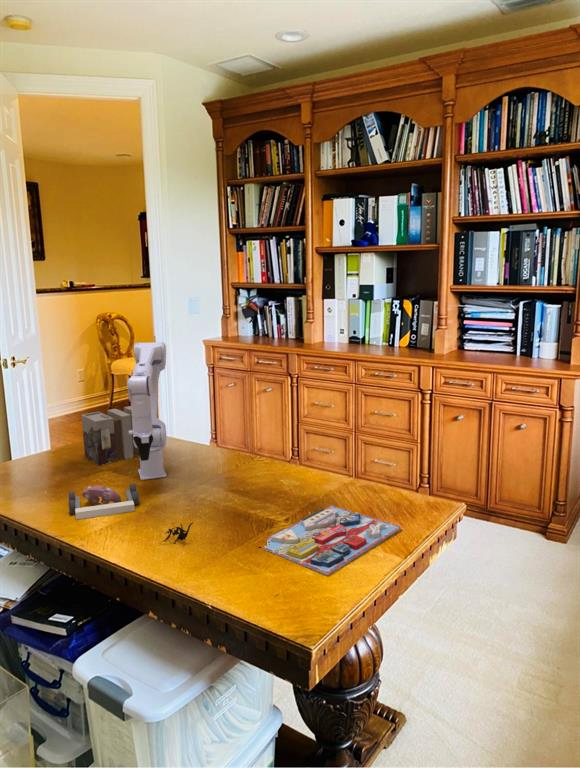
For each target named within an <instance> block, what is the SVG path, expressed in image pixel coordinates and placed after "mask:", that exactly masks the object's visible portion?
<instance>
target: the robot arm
mask: <svg viewBox="0 0 580 768" xmlns="http://www.w3.org/2000/svg"><path fill="white" fill-rule="evenodd" d="M133 355H134V356H133V357H134V360H135V365H134V367H133V371H132V375H131V376H130V377H128V378H127V381H126V382H127V383H126V386H127V393H128V400H129V402H130V406H131V412H132V427H133V430H131V431H129V434H133V443H134V446H135V447H136V448H138V451H139V455H138V456H139V466H140V468H139V469H137V472H138V474H139V478H140V480H142V481H143V480H151V479H160V478H167V473H166V471H165V469H164V458H163V457H164V456H163V448H165V447H166V445H167V427H166V424H165V422H164V421H162V420H161V419H160V418H158V413H159V412H158V411H159V380H160V374H161V372H162V371H163V370H165V369H166V366H167V365H166V364H167V346H166V343H165V342H164V341H159V342H156V341H155V342H137V341H136V342H135V343H134V345H133Z"/></svg>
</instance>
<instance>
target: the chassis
mask: <svg viewBox="0 0 580 768" xmlns="http://www.w3.org/2000/svg"><path fill="white" fill-rule="evenodd" d="M125 496H127V497H126V501H120V502H118V503H115V502H112V503H109V504H96V505H93V506H92V505H91V506H85V507H84V506H83V507H81V500H80V495H79V496H76V492H75V491H68V511H69V512H68V513H69V515H70V514H75V521H76V520H84V519H90V518H97V517H104V516H109V515H110V516H111V515H116V514H124V513H130V512H136V511H135V510H136V509H135V505H139V504H140V496H139V492H138V491H137V484H136V483H130V484H129V489H125ZM127 500H128V501H127Z"/></svg>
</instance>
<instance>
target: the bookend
mask: <svg viewBox="0 0 580 768" xmlns="http://www.w3.org/2000/svg"><path fill="white" fill-rule="evenodd" d="M106 411H107V414H105V413H103V412H101V411H95V412H89V413H84V414H80V415H81V426H82V428H81V429H82V437H83V449H84V450H83V451H84V458H86V459H87V458H88V459H87V460H89V459H90V460H91V462H92V461H93V463H94V462H95V463H96V464H95V463H94V464H95V465H97V464H98V465H97V466H99V465H100V466H103V465H102V464H104V465H107V464H106V463H109V462H113V463H115V462H114V461H118V460H117V459H121V458H125V459H126V458H130V459H132V458H131V457H136V456H135V455H138V456H140V455H139V451H138V448H136V447H135V446H134V443H133V434H129V431H131V430H133V427H132V412H131V405H128V406H124V407H123V410H120V409H117V408H112V409H107V410H106ZM125 459H124V460H125ZM90 460H89V461H90ZM121 460H122V459H121ZM126 460H127V459H126ZM109 464H110V463H109Z"/></svg>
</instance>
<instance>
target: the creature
mask: <svg viewBox="0 0 580 768" xmlns="http://www.w3.org/2000/svg"><path fill="white" fill-rule="evenodd" d="M170 520H171V519H170ZM171 522H172V526H173V527H172V528H168V529H167V530H166V531H165V535H167V534H168V535H167V537H166V538H165V539H164V540H162V541H161V543H163V542H165V543H167V542H168V541H169V542H170V543H172V544H173V545H176V544H177V541H178V540H180V541H181V542H183V540H186V538H187V536H188V534H189V532H190V528H191V526H192V525H193V524H195V522H193V521H192V522H190V523H189V525H188V527H187V529H186V530H184V529H183V527H184V526H183V524H182V523H180V526H175V524H174V522H173V521H172V520H171ZM175 528H176V529H175ZM171 535H172V536H173V537H175V536H176V535H178V536H177V537H176V539H175V541H174V542H172V540H169V538H170V537H171Z"/></svg>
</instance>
